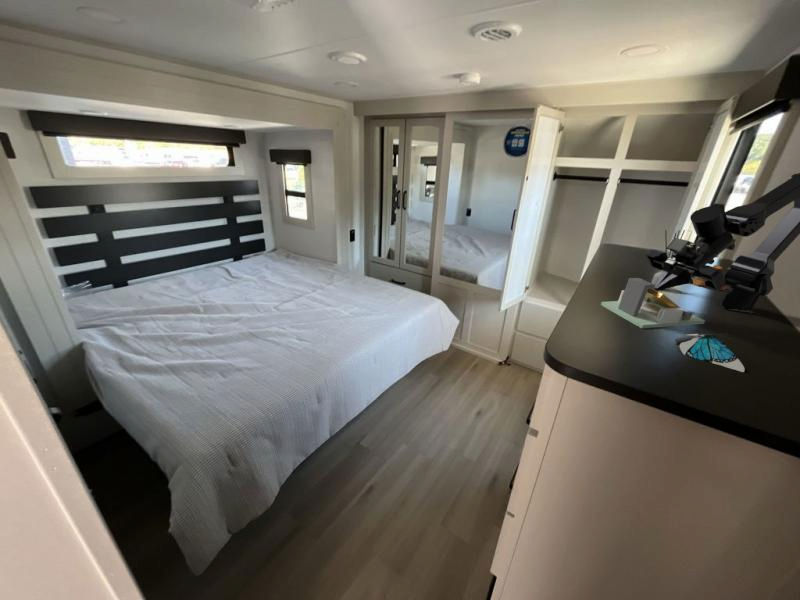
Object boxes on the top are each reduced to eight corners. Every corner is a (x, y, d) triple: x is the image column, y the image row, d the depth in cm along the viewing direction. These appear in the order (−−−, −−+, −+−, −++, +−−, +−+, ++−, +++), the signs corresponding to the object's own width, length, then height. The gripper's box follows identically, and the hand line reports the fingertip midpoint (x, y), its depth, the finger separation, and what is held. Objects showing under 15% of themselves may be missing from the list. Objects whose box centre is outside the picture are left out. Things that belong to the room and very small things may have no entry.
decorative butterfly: (671, 324, 76) (728, 324, 72) (669, 347, 78) (724, 349, 74) (685, 344, 68) (750, 346, 63) (682, 369, 70) (745, 373, 65)
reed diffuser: (661, 293, 104) (687, 233, 96) (638, 286, 109) (660, 228, 101) (672, 287, 110) (697, 230, 101) (650, 280, 115) (672, 225, 106)
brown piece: (695, 288, 110) (704, 268, 107) (679, 277, 120) (687, 259, 117) (736, 293, 107) (747, 273, 104) (715, 281, 118) (725, 263, 114)
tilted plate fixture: (656, 301, 97) (669, 270, 93) (703, 323, 85) (720, 289, 81) (600, 304, 94) (611, 272, 89) (641, 328, 81) (656, 292, 77)
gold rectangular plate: (654, 297, 94) (630, 279, 89) (687, 313, 85) (663, 293, 80) (650, 301, 94) (626, 283, 90) (683, 317, 85) (659, 298, 81)
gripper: (663, 220, 88) (617, 259, 91) (739, 237, 72) (680, 284, 74) (675, 247, 93) (630, 283, 96) (749, 268, 76) (693, 311, 79)
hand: (655, 289), depth 86 cm, fingers closed
